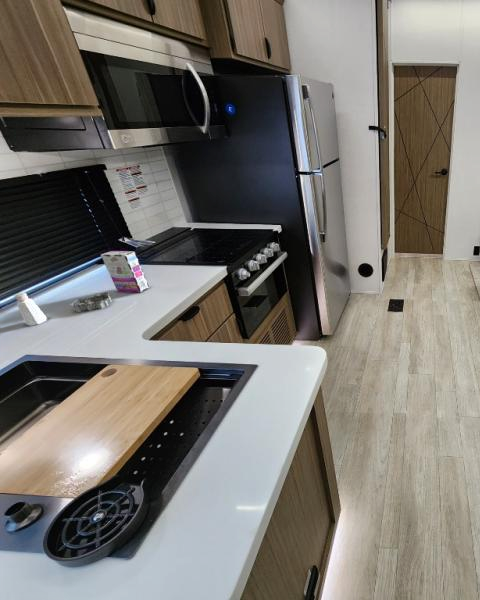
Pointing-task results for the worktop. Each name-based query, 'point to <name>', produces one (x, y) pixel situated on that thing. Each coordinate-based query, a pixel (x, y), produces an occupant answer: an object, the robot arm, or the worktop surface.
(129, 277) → the candy bar box
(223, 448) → the worktop surface
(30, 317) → the pepper shaker
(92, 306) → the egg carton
